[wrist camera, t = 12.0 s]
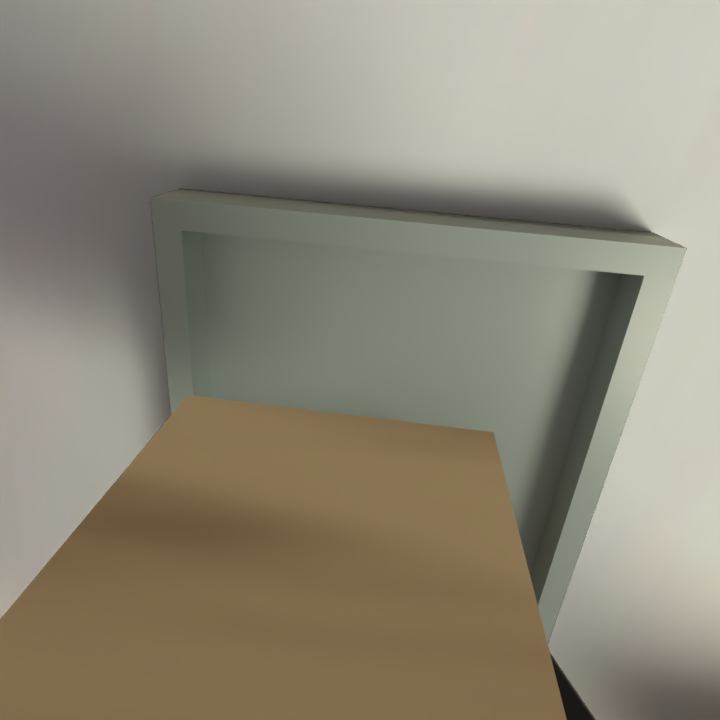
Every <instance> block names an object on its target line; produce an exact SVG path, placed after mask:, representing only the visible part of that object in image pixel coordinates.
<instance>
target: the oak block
mask: <svg viewBox="0 0 720 720" xmlns="http://www.w3.org/2000/svg"><path fill="white" fill-rule="evenodd" d="M0 720H567V719H566V715H565V711H564V707H563V703H562V699H561V695H560V691H559V687H558V683H557V679H556V675H555V671H554V668H553V664H552V660H551V656H550V652H549V648H548V644H547V640H546V636H545V632H544V628H543V624H542V620H541V617H540V613H539V609H538V605H537V601H536V597H535V593H534V589H533V585H532V581H531V577H530V573H529V569H528V566H527V562H526V558H525V554H524V550H523V546H522V542H521V538H520V534H519V530H518V526H517V522H516V518H515V515H514V511H513V507H512V503H511V499H510V495H509V491H508V487H507V483H506V479H505V475H504V471H503V467H502V464H501V460H500V456H499V452H498V448H497V444H496V440H495V436H494V432H488V431H480V430H471V429H463V428H455V427H447V426H439V425H430V424H422V423H414V422H406V421H398V420H389V419H381V418H373V417H365V416H357V415H348V414H340V413H332V412H324V411H316V410H307V409H299V408H291V407H283V406H275V405H266V404H258V403H250V402H242V401H234V400H225V399H217V398H209V397H201V396H193V395H188V396H187V397H186V398H185V399H184V400H183V402H182V403H181V404H180V405H179V406H178V408H177V409H176V410H175V411H174V412H173V414H172V415H171V416H170V417H169V418H168V420H167V421H166V422H165V423H164V424H163V426H162V427H161V428H160V429H159V430H158V432H157V433H156V434H155V435H154V436H153V438H152V439H151V440H150V441H149V442H148V443H147V445H146V446H145V447H144V448H143V449H142V451H141V452H140V453H139V454H138V455H137V457H136V458H135V459H134V460H133V461H132V463H131V464H130V465H129V466H128V467H127V469H126V470H125V471H124V472H123V473H122V475H121V476H120V477H119V478H118V479H117V481H116V482H115V483H114V484H113V485H112V487H111V488H110V489H109V490H108V491H107V493H106V494H105V495H104V496H103V497H102V499H101V500H100V501H99V502H98V503H97V504H96V506H95V507H94V508H93V509H92V510H91V512H90V513H89V514H88V515H87V516H86V518H85V519H84V520H83V521H82V522H81V524H80V525H79V526H78V527H77V528H76V530H75V531H74V532H73V533H72V534H71V536H70V537H69V538H68V539H67V540H66V542H65V543H64V544H63V545H62V546H61V548H60V549H59V550H58V551H57V552H56V554H55V555H54V556H53V557H52V558H51V560H50V561H49V562H48V563H47V564H46V565H45V567H44V568H43V569H42V570H41V571H40V573H39V574H38V575H37V576H36V577H35V579H34V580H33V581H32V582H31V583H30V585H29V586H28V587H27V588H26V589H25V591H24V592H23V593H22V594H21V595H20V597H19V598H18V599H17V600H16V601H15V603H14V604H13V605H12V606H11V607H10V609H9V610H8V611H7V612H6V613H5V615H4V616H3V617H2V618H1V619H0Z"/></svg>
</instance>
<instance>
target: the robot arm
mask: <svg viewBox="0 0 720 720" xmlns="http://www.w3.org/2000/svg"><path fill="white" fill-rule="evenodd" d="M550 656H551V660H552V664H553V668H554V671H555V675H556V679H557V683H558V687H559V691H560V695H561V699H562V703H563V707H564V711H565V715H566V719H567V720H595V718H594V717H593V715H592V714H591V712H590V711H589V709H588V708H587V706H586V705H585V703H584V702H583V701H582V699H581V698H580V696H579V695H578V693H577V692H576V690H575V689H574V687H573V686H572V684H571V683H570V681H569V680H568V679H567V677H566V676H565V674H564V673H563V671H562V670H561V668H560V667H559V665H558V664H557V662H556V661H555V659H554V658H553V656H552V655H551V654H550Z"/></svg>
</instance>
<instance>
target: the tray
mask: <svg viewBox="0 0 720 720" xmlns="http://www.w3.org/2000/svg"><path fill="white" fill-rule="evenodd" d="M150 203H151V214H152V224H153V234H154V244H155V255H156V265H157V275H158V286H159V296H160V306H161V317H162V327H163V337H164V347H165V358H166V368H167V378H168V389H169V399H170V409H171V415H172V414H173V412H174V411H175V410H176V409H177V408H178V406H179V405H180V404H181V403H182V402H183V400H184V399H185V398H186V397H187V396H188V395H193V396H201V397H209V398H217V399H225V400H234V401H242V402H250V403H258V404H266V405H275V406H283V407H291V408H299V409H307V410H316V411H324V412H332V413H340V414H348V415H357V416H365V417H373V418H381V419H389V420H398V421H406V422H414V423H422V424H430V425H439V426H447V427H455V428H463V429H471V430H480V431H488V432H494V436H495V440H496V444H497V448H498V452H499V456H500V460H501V464H502V467H503V471H504V475H505V479H506V483H507V487H508V491H509V495H510V499H511V503H512V507H513V511H514V515H515V518H516V522H517V526H518V530H519V534H520V538H521V542H522V546H523V550H524V554H525V558H526V562H527V566H528V569H529V573H530V577H531V581H532V585H533V589H534V593H535V597H536V601H537V605H538V609H539V613H540V617H541V620H542V624H543V628H544V632H545V636H546V640H547V644H548V642H549V639H550V636H551V633H552V630H553V627H554V625H555V622H556V619H557V616H558V613H559V610H560V608H561V605H562V602H563V599H564V596H565V593H566V590H567V588H568V585H569V582H570V579H571V576H572V573H573V571H574V568H575V565H576V562H577V559H578V556H579V554H580V551H581V548H582V545H583V542H584V539H585V536H586V534H587V531H588V528H589V525H590V522H591V519H592V517H593V514H594V511H595V508H596V505H597V502H598V499H599V497H600V494H601V491H602V488H603V485H604V482H605V480H606V477H607V474H608V471H609V468H610V465H611V462H612V460H613V457H614V454H615V451H616V448H617V445H618V443H619V440H620V437H621V434H622V431H623V428H624V426H625V423H626V420H627V417H628V414H629V411H630V408H631V406H632V403H633V400H634V397H635V394H636V391H637V389H638V386H639V383H640V380H641V377H642V374H643V371H644V369H645V366H646V363H647V360H648V357H649V354H650V352H651V349H652V346H653V343H654V340H655V337H656V334H657V332H658V329H659V326H660V323H661V320H662V317H663V315H664V312H665V309H666V306H667V303H668V300H669V298H670V295H671V292H672V289H673V286H674V283H675V280H676V278H677V275H678V272H679V269H680V266H681V263H682V261H683V258H684V255H685V252H686V249H687V248H685V247H683V246H681V245H679V244H677V243H674V242H672V241H670V240H668V239H666V238H664V237H661V236H659V235H657V234H655V233H651V232H640V231H629V230H618V229H608V228H597V227H586V226H575V225H565V224H554V223H543V222H532V221H522V220H511V219H500V218H489V217H479V216H468V215H457V214H446V213H436V212H425V211H414V210H403V209H393V208H382V207H371V206H360V205H350V204H339V203H328V202H317V201H307V200H296V199H285V198H274V197H264V196H253V195H242V194H231V193H221V192H210V191H199V190H188V189H178V190H175V191H171V192H168V193H164V194H161V195H157V196H154V197H150Z"/></svg>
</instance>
